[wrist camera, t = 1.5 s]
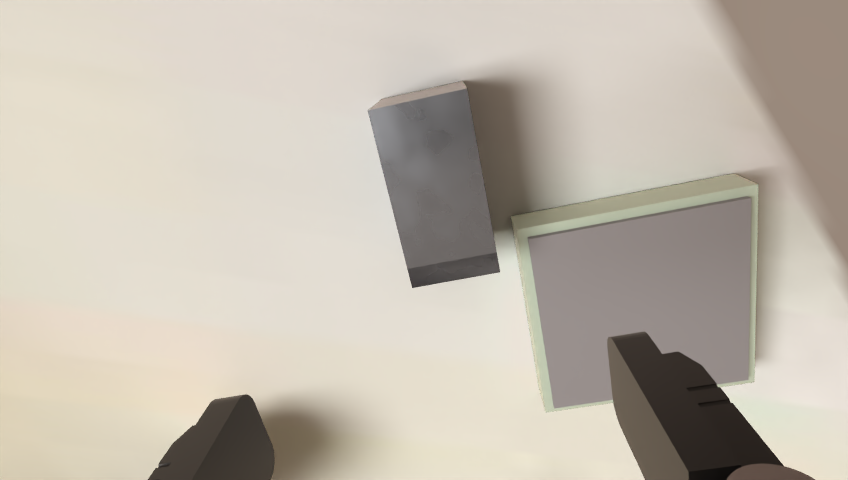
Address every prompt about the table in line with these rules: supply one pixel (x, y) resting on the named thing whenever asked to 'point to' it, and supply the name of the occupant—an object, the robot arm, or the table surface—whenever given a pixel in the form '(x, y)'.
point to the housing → (435, 183)
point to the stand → (641, 283)
